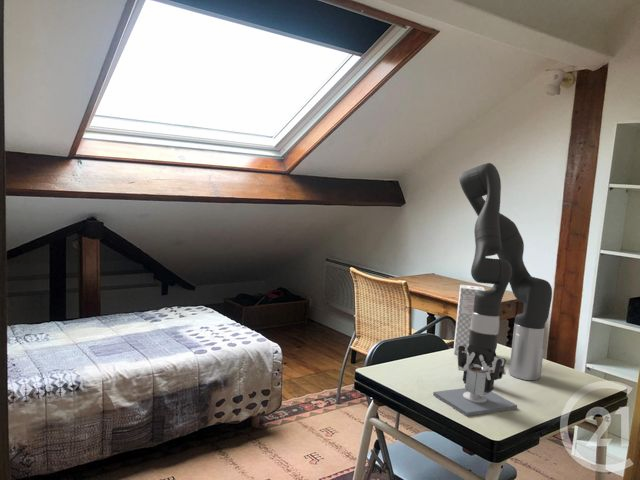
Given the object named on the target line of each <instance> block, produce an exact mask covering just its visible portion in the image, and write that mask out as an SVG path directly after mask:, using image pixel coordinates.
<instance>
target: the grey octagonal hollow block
mask: <svg viewBox="0 0 640 480" xmlns="http://www.w3.org/2000/svg"><path fill="white" fill-rule="evenodd" d="M488 368H489V367H488ZM473 369H478V370H481V371H483V373H479V372H476V371H473ZM490 374H491V373H490ZM486 375H487V374H486V373H485V372H484V370H483V367H478V366H470V367H467V374H466V383H465V384H464V388H465V389H466V391H468V392H470V393H473V394H476V395H487V394H489V393H486V392H485V385H486V379H487V377H486Z"/></svg>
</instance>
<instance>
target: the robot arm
mask: <svg viewBox="0 0 640 480" xmlns="http://www.w3.org/2000/svg"><path fill="white" fill-rule="evenodd" d="M459 183H460V184H459V185H460V187H461V189H462V192H463V193H464V195H465V198H466V199H467V200H468V203H470V205H471V207H472V209H473V210H474V212H475V214H476V216H477V219H476V221H475V224H474V242H475V249H474V250H475V251H474V256H473V262H472V265H471V270H470V275H471V278H472V279H473V281H475V282H476V283H479V284H486V285H487V284H488V285H493V286H492V287H491V288H490V289H488V290H485V291H480V292H477V293H476V295H475V299H474V308H473V315H472V318H471V326H470V334H469V346H466V345H462V346H459V347H458V358H457V366H458V365H459V366H460V367H462V368H463V370H464V371H463V375H462V381H463V384H464V385H465V383H466V374H467V367H470V366H474V365H475V364H477V365H479V366H481V367H483V370H484V372H485V373H486V374H487V375H486V377H487V379H486V385H485V392H486V393H489V392H491V391H492V392H493V390H494V383H495V381H497V380H501V379H502V378H503V375H504V374H503V371H504V368H505V366H506V363H507V360H506V358H505V357H502V358H501V357H500V356H498V355H497V354H496V350H497V346H498V338H499V332H500V314H501V306H502V301H503V297H504V295H505V292H506V290H507V288H508V285H509V286H510V288H511V291H512V293H513V296H514V298H515V299H516V300H518V301H519V302H520V303H523V304H526V306H525V310H524V312H523V313H517V314H516V315H515V317H514V326H513V334H512V341H511V351H510V361H509V369H508V373H509V375H510V376H512V377H513V378H517V379H520V380H527V381H537V380H539V378H541V377H542V371H543V370H542V367H543V362H544V361H543V360H544V354H545V353H544V352H545V350H544V349H543V343H544V336H545V335H544V334H545V328H546V323H547V321H548V319H549V315H550V311H551V303H552V298H553V288H552V285H551V284H550V282H549V281H548V280H546V279H543V278H538V277H535V276H532V275H531V274H530V273H529V271H528V270H527V267H526V265H525V262H524V249H525V244H524V240H523V237H522V235H521V233H520V231H519V229H518V227H517V225H516V223H515V222H514V221H513V220H511V219H510V218H509V217H508V216H505V215H504V214H502V213H501V212H500V209H501V194H502V192H501V191H502V189H501V188H502V182H501V176H500V174H499V171H498V168H497V167H496V166H495V165H494V164H493V163H491V162H488V163H483V164H481V165H478V166H476V167H473V168H470V169H467V170H465V171H463V172H461V173H460V174H459ZM484 196H486V199H484ZM495 255H496V256H497V258H491V257H492V256H495ZM467 353H469V356H470V357H469V358H468V360H467ZM494 360H495V364H496V366H495V371H494V365H493V361H494ZM487 366H489V368H488V367H487ZM490 373H491V374H490Z"/></svg>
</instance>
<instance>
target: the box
mask: <svg viewBox="0 0 640 480" xmlns="http://www.w3.org/2000/svg"><path fill="white" fill-rule="evenodd" d="M480 291H486V289H485V288H484V286H478V285H477V286H476V285H470V284H469V285H467V284H459V291H458V292H459V293H458V301H457V302H458V303H457V312H456V321H455V330H454V340H453V341H454V343H453V353H454V355H456V356H457V351H458V347H459V346H462V345H466V346H469V334H470V326H471V318H472V315H473V308H474V299H475V295H476V293H477V292H480Z"/></svg>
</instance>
